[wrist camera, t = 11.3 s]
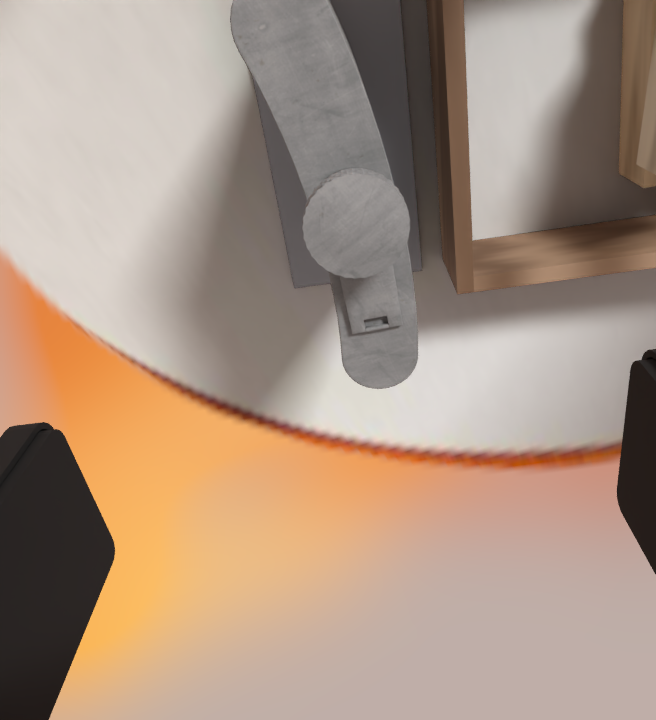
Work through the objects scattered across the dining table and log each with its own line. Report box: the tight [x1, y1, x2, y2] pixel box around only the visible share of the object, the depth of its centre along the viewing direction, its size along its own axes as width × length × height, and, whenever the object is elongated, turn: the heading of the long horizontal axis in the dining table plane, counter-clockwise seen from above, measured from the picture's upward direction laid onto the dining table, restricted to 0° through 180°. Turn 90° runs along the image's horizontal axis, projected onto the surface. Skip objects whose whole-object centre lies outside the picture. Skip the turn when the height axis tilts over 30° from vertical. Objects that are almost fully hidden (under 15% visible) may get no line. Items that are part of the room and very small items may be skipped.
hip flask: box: [230, 0, 418, 389], centre depth 29 cm, size 16×4×20 cm, turn 17°
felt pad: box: [253, 0, 422, 288], centre depth 38 cm, size 9×20×1 cm, turn 9°
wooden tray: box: [426, 0, 656, 294], centre depth 33 cm, size 18×21×6 cm
